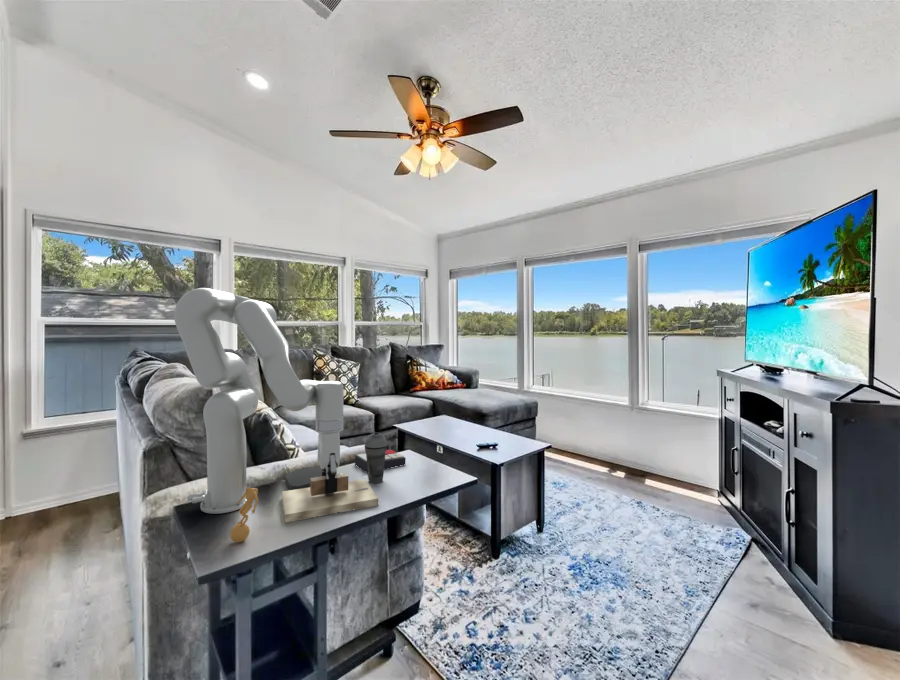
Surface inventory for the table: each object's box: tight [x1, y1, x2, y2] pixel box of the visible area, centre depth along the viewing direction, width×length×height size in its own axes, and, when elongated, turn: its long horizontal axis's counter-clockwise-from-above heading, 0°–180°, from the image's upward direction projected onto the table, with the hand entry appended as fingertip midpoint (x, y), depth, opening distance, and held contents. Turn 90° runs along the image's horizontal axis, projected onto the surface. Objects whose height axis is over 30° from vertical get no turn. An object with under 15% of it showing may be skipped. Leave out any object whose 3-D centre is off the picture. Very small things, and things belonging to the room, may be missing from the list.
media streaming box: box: [284, 466, 325, 491], centre depth 128 cm, size 15×15×3 cm
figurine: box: [229, 486, 259, 543], centre depth 92 cm, size 8×6×12 cm
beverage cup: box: [363, 419, 388, 485], centre depth 129 cm, size 7×7×20 cm
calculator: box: [354, 449, 407, 474], centre depth 145 cm, size 11×4×15 cm
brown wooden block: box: [310, 472, 349, 496], centre depth 113 cm, size 10×3×5 cm, turn 115°
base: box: [281, 478, 379, 523], centre depth 114 cm, size 24×18×2 cm
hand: (329, 488), depth 113 cm, fingers open, 5 cm apart
